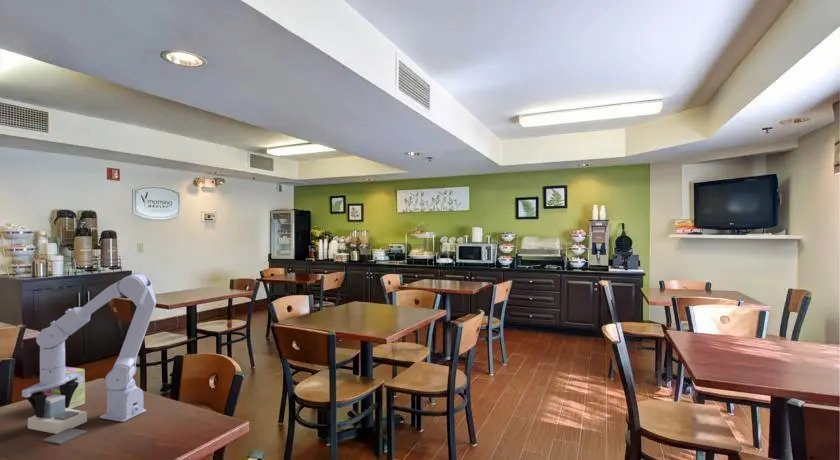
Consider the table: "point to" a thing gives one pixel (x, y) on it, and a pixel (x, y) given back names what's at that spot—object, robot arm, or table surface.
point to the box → (79, 393)
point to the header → (58, 421)
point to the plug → (54, 406)
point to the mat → (64, 436)
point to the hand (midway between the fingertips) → (52, 412)
